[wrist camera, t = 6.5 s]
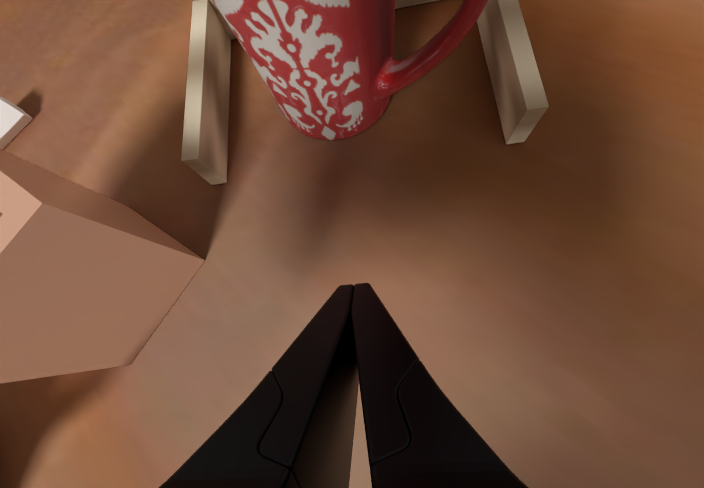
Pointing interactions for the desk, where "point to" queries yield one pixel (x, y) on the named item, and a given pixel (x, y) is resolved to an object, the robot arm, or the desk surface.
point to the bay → (493, 23)
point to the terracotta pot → (78, 275)
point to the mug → (335, 57)
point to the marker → (11, 121)
